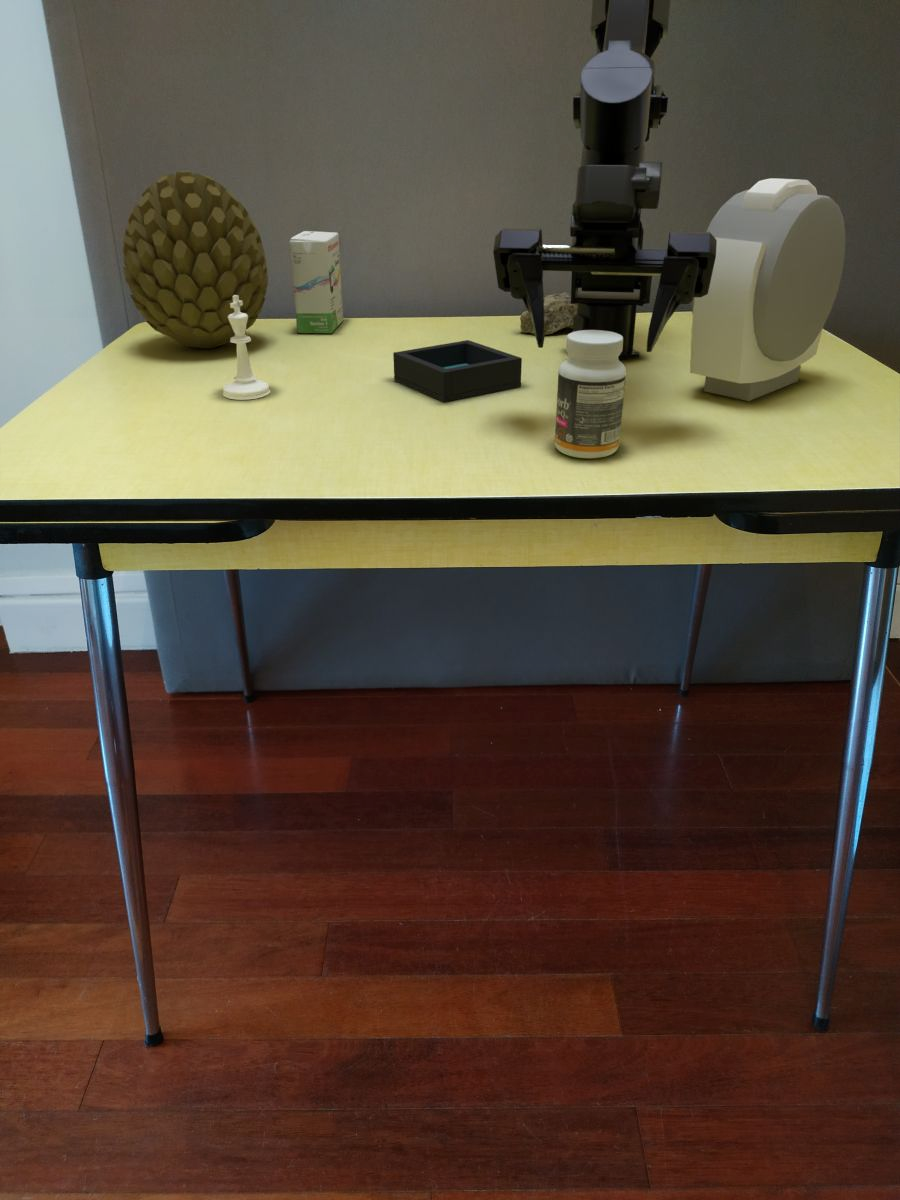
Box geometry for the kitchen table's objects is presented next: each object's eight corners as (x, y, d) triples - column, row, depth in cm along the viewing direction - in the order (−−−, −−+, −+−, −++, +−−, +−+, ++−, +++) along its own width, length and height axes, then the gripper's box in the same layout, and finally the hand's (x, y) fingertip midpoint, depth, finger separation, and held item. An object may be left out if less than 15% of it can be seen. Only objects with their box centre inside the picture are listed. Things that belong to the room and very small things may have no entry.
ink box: (332, 334, 120) (326, 239, 114) (296, 333, 121) (287, 239, 115) (344, 320, 128) (339, 230, 122) (310, 319, 128) (303, 230, 122)
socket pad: (468, 366, 105) (468, 339, 104) (521, 386, 98) (522, 357, 97) (393, 380, 100) (392, 352, 99) (443, 402, 93) (443, 372, 92)
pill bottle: (548, 439, 83) (554, 328, 78) (610, 437, 83) (619, 327, 78) (560, 461, 78) (567, 344, 73) (626, 459, 78) (637, 342, 73)
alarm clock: (758, 363, 106) (788, 172, 96) (828, 377, 100) (868, 176, 91) (671, 395, 95) (695, 182, 85) (744, 412, 89) (779, 188, 80)
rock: (570, 338, 117) (572, 302, 115) (513, 333, 120) (514, 297, 118) (586, 327, 123) (588, 292, 121) (531, 322, 126) (532, 288, 123)
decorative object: (287, 354, 111) (271, 174, 101) (144, 368, 106) (112, 179, 96) (260, 326, 125) (243, 165, 115) (132, 337, 119) (103, 169, 109)
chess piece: (278, 388, 98) (269, 292, 93) (255, 401, 94) (244, 301, 89) (238, 385, 99) (227, 289, 94) (214, 397, 95) (200, 298, 90)
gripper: (498, 124, 76) (475, 286, 71) (730, 124, 72) (720, 293, 68) (509, 216, 86) (489, 362, 82) (712, 219, 83) (702, 371, 79)
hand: (594, 347), depth 77 cm, fingers open, 9 cm apart
